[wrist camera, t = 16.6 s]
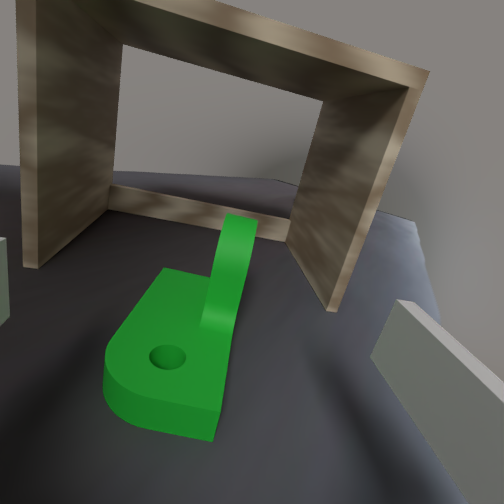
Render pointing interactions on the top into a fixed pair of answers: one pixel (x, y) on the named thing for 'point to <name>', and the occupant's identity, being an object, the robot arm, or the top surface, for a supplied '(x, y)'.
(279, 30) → the cubby box
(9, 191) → the top surface
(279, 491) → the top surface
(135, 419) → the mechanical part
